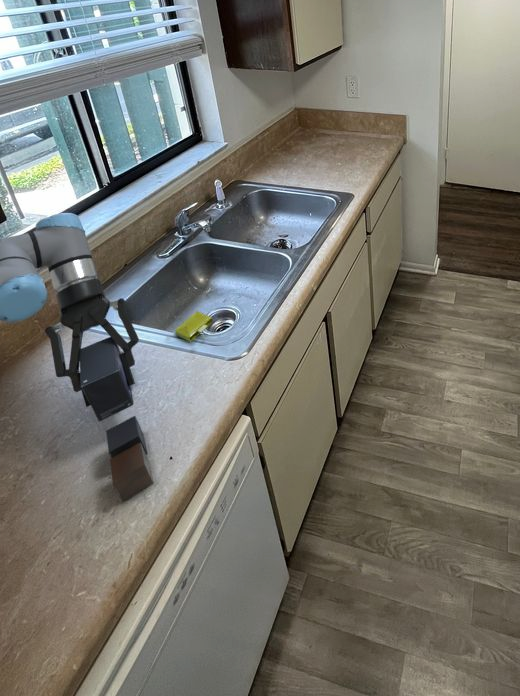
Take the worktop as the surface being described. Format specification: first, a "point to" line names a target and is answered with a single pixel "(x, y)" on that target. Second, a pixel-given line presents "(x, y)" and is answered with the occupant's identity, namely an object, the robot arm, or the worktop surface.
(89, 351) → the small box
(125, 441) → the charcoal block
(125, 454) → the walnut block
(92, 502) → the worktop surface
